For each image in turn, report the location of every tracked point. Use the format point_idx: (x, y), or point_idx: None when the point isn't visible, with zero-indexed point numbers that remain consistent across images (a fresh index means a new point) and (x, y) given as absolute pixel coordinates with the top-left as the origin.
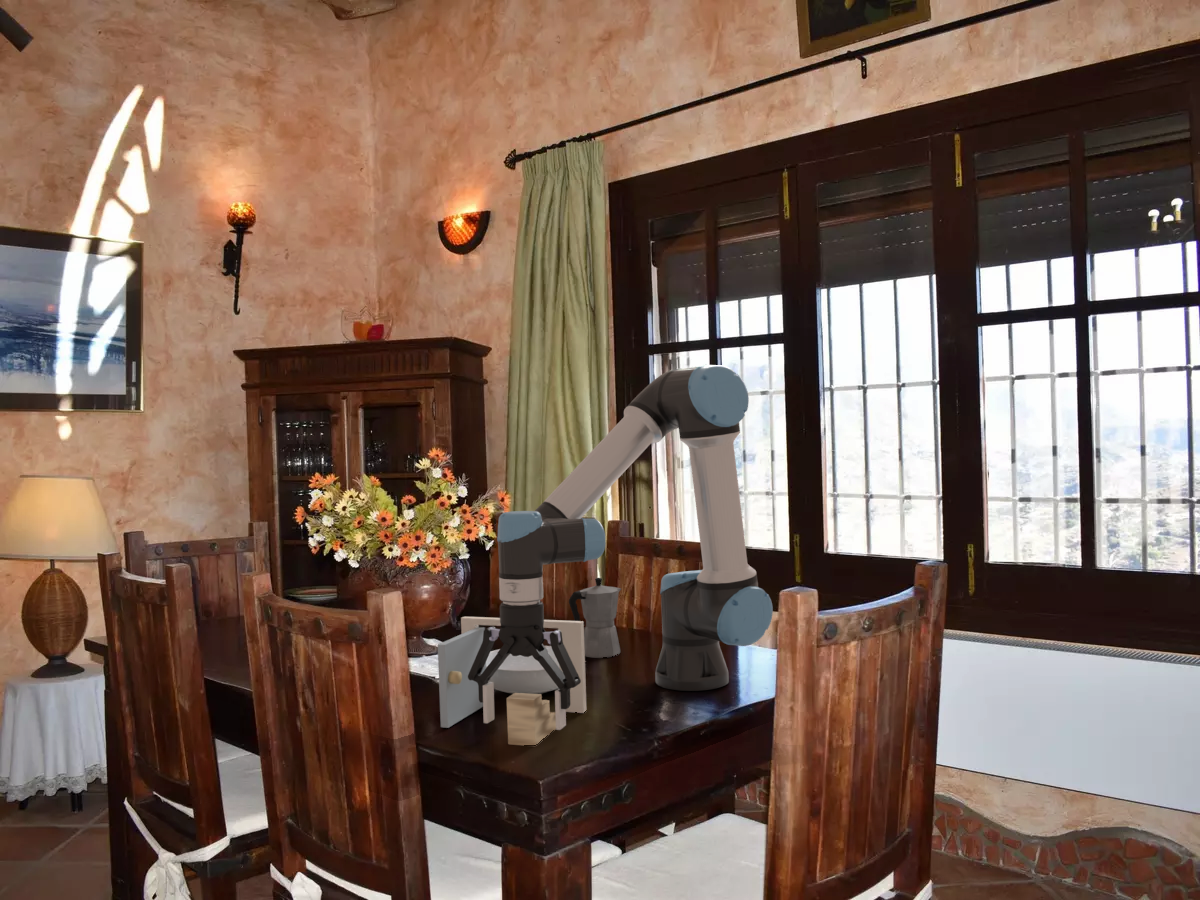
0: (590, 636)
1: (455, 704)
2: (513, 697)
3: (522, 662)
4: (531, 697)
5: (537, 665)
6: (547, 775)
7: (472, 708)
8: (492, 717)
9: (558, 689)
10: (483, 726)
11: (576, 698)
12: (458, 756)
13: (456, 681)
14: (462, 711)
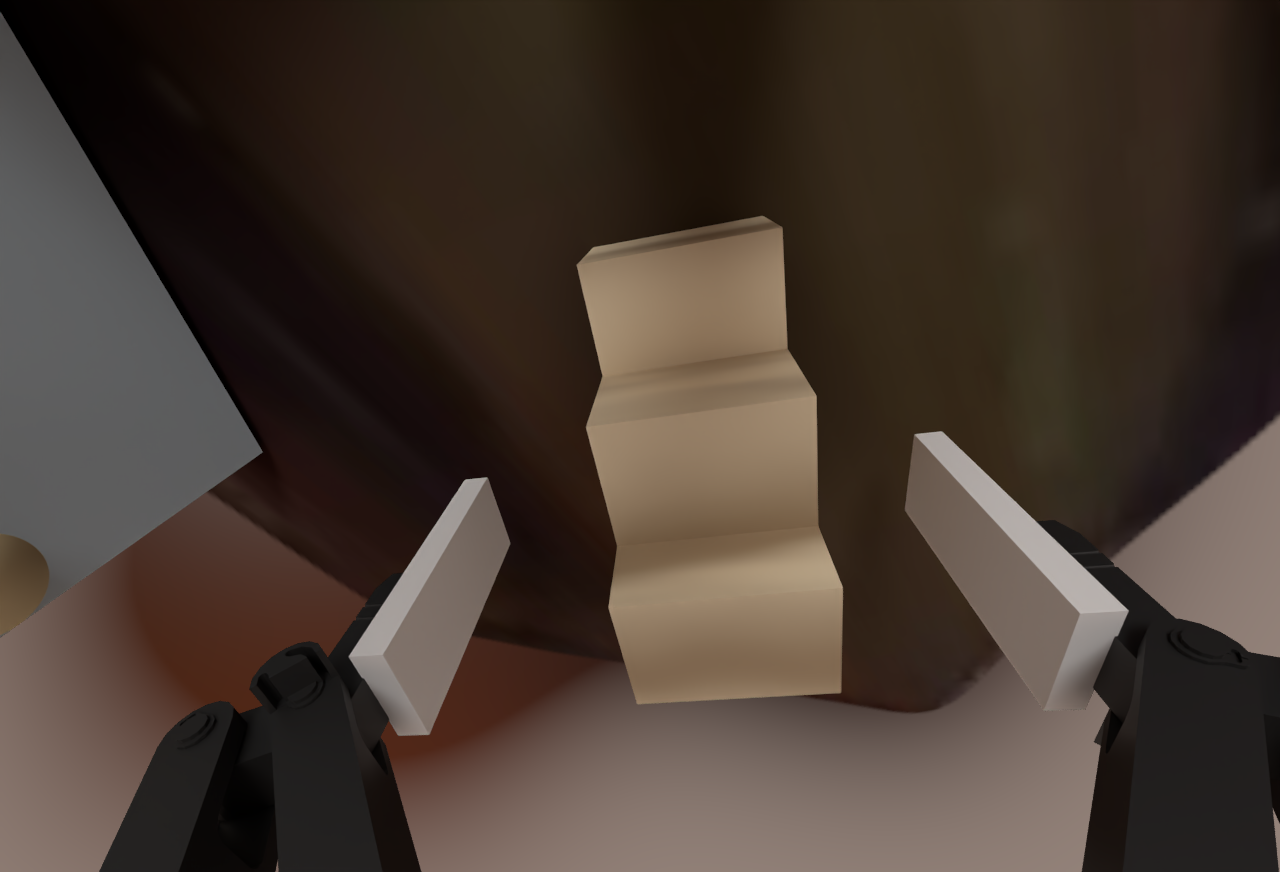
0: None
1: (125, 424)
2: (671, 684)
3: None
4: (798, 660)
5: None
6: (943, 691)
7: (65, 174)
8: (490, 506)
9: (1067, 670)
10: (362, 347)
11: None
12: (562, 649)
13: (36, 605)
14: (136, 320)
